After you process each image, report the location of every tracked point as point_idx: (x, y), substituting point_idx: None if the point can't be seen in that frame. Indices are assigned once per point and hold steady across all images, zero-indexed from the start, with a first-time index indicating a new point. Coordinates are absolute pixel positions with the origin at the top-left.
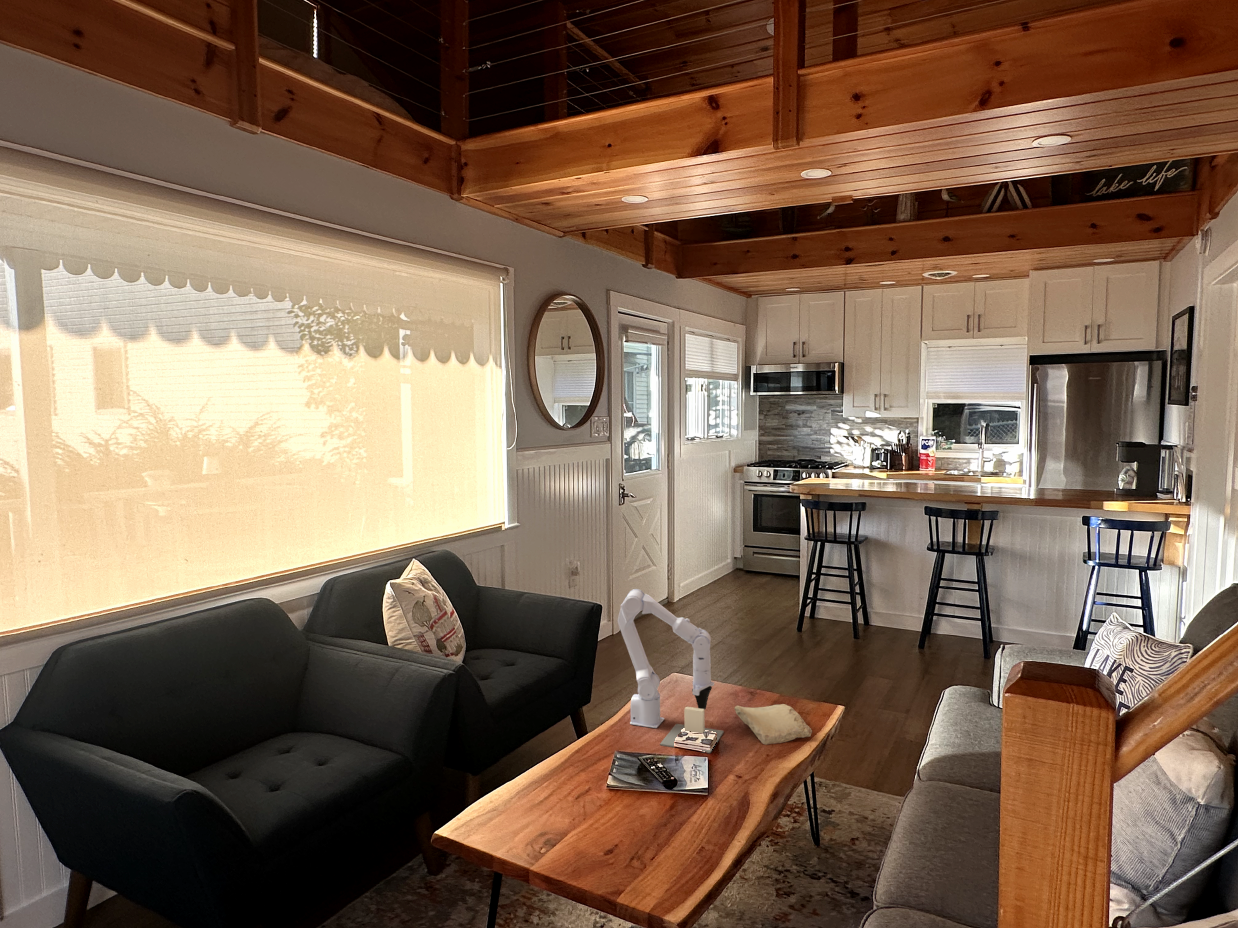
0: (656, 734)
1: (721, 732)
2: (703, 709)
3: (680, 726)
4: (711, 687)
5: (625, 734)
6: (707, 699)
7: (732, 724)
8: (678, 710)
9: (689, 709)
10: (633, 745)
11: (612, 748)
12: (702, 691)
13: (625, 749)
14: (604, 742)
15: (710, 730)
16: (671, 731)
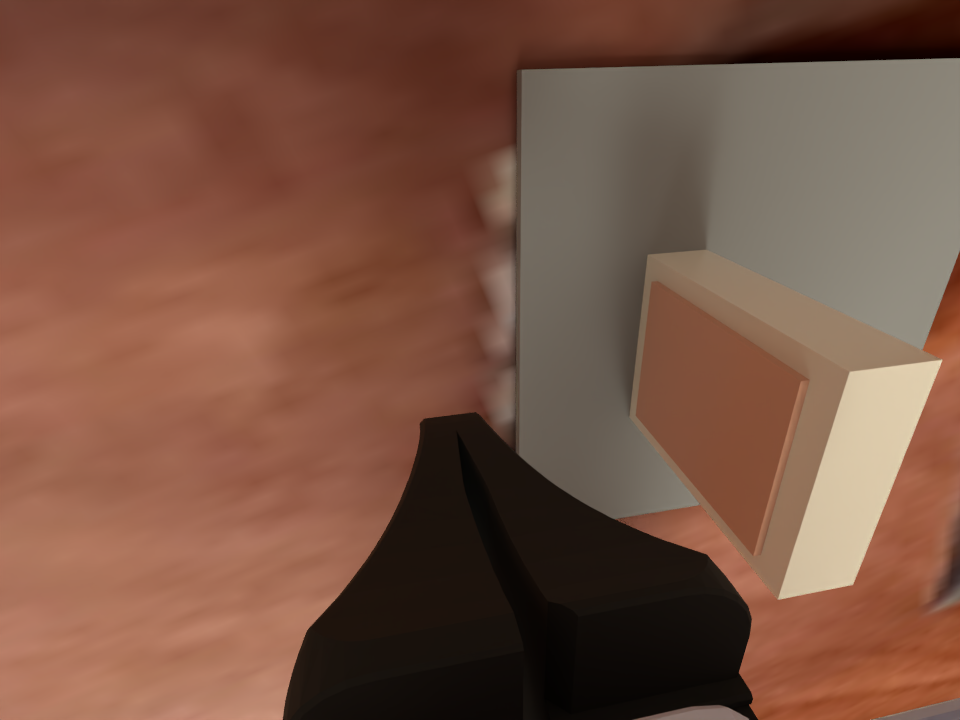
0: (708, 554)
1: (575, 83)
2: (861, 376)
3: (561, 487)
4: (380, 670)
5: None
6: (429, 487)
7: (235, 24)
8: (220, 631)
9: (871, 530)
10: (872, 578)
11: (908, 631)
12: (743, 690)
13: (920, 584)
14: (843, 685)
15: (561, 223)
16: (670, 499)
